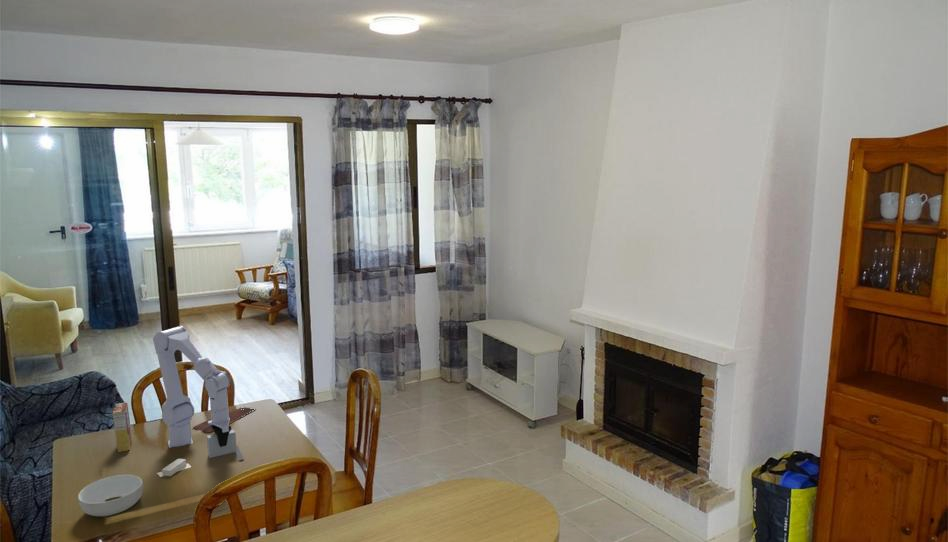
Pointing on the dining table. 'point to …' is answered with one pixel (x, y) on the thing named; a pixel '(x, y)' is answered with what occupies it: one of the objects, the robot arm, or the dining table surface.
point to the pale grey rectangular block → (214, 445)
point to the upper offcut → (174, 467)
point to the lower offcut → (177, 471)
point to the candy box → (122, 427)
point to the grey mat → (239, 454)
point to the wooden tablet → (233, 417)
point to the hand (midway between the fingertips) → (222, 444)
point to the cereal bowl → (110, 495)
